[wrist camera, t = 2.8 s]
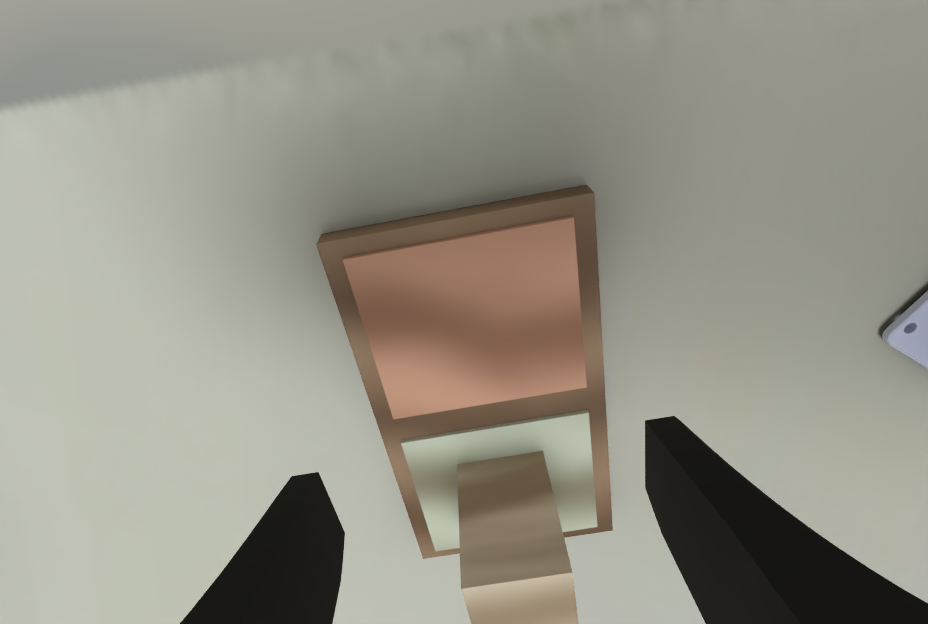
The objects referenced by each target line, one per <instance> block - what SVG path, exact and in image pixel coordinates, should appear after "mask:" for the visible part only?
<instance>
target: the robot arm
mask: <svg viewBox="0 0 928 624" xmlns="http://www.w3.org/2000/svg"><path fill="white" fill-rule="evenodd" d="M907 325H908V326H907ZM882 339H883V340H884V341H885V342H886V343H887V344H889V345H890V346H892V347H894V348H895V349H897V350H898V351H900V352H902V353H903V354H905V355H906V356H908V357H910V358H911V359H913V360H914V361H916V362H918V363H919V364H921V365H922V366H924V367H925V368H927V369H928V291H927V292H926V293H924V294H923V295H922V296H921V297H920V298H919V299H918V300H917V301H916V302H915V303H913V304H912V305H911V306H910V307H909V308H908V309H907V310H906V311H905V312H904V313H903V314H901V315H900V316H899V317H898V318H897V319H896V320H895V321H894V322H893V323H892V324H890V325H889V326H888V327H887V328H886V329H885V331H884V332H883V335H882ZM645 488H646V491H647V493H648V496H649V499H650V502H651V505H652V508H653V511H654V513H655V516H656V519H657V521H658V524H659V527H660V530H661V532H662V535H663V537H664V539H665V541H666V543H667V545H668V547H669V549H670V551H671V553H672V555H673V558H674V560H675V562H676V564H677V566H678V568H679V570H680V572H681V574H682V576H683V578H684V580H685V582H686V584H687V586H688V588H689V590H690V592H691V594H692V596H693V598H694V600H695V602H696V604H697V606H698V609H699V611H700V613H701V615H702V617H703V619H704V621H705V623H706V624H928V603H926V602H924V601H923V600H921V599H919V598H917V597H916V596H914V595H912V594H910V593H909V592H907V591H905V590H903V589H902V588H900V587H898V586H897V585H895V584H893V583H892V582H890V581H889V580H887V579H885V578H884V577H882V576H881V575H879V574H877V573H876V572H874V571H873V570H871V569H869V568H868V567H866V566H865V565H863V564H862V563H860V562H859V561H857V560H856V559H854V558H853V557H851V556H850V555H848V554H847V553H845V552H844V551H842V550H841V549H839V548H838V547H836V546H835V545H833V544H832V543H830V542H829V541H827V540H826V539H825V538H823V537H822V536H820V535H819V534H818V533H816V532H815V531H813V530H812V529H811V528H809V527H808V526H806V525H805V524H804V523H802V522H801V521H800V520H798V519H797V518H796V517H794V516H793V515H792V514H790V513H789V512H788V511H786V510H785V509H784V508H782V507H781V506H780V505H778V504H777V503H776V502H775V501H773V500H772V499H771V498H769V497H768V496H767V495H766V494H764V493H763V492H762V491H761V490H760V489H758V488H757V487H756V486H755V485H753V484H752V483H751V482H750V481H748V480H747V479H746V478H745V477H744V476H742V475H741V474H740V473H739V472H737V471H736V470H735V469H734V468H733V467H732V466H730V465H729V464H728V463H727V462H726V461H725V460H723V459H722V458H721V457H720V456H719V455H718V454H717V453H715V452H714V451H713V450H712V449H711V448H710V447H709V446H707V445H706V444H705V443H704V442H703V441H702V440H701V439H700V438H699V437H697V436H696V435H695V434H694V433H693V432H692V431H691V430H690V429H689V428H688V427H687V426H685V425H684V424H683V423H682V422H681V421H680V420H679V419H677V418H676V417H675V416H671V417H665V418H659V419H652V420H646V421H645ZM344 537H345V532H344V530H343V528H342V525H341V523H340V521H339V519H338V516H337V514H336V512H335V509H334V507H333V505H332V502H331V500H330V498H329V496H328V493H327V491H326V489H325V486H324V484H323V482H322V479H321V477H320V475H319V473H318V472H316V473H310V474H304V475H297V476H292V477H291V478H290V480H289V481H288V482H287V484H286V485H285V486H284V488H283V489H282V490H281V492H280V493H279V494H278V496H277V497H276V499H275V500H274V501H273V503H272V504H271V506H270V507H269V508H268V510H267V511H266V513H265V514H264V515H263V517H262V518H261V520H260V521H259V522H258V524H257V525H256V527H255V528H254V529H253V531H252V532H251V533H250V535H249V536H248V538H247V539H246V540H245V542H244V543H243V544H242V546H241V547H240V548H239V550H238V551H237V552H236V554H235V555H234V556H233V558H232V559H231V560H230V562H229V563H228V564H227V566H226V567H225V568H224V570H223V571H222V572H221V574H220V575H219V576H218V577H217V579H216V580H215V581H214V582H213V584H212V585H211V586H210V587H209V589H208V590H207V591H206V592H205V594H204V595H203V596H202V597H201V599H200V600H199V601H198V602H197V604H196V605H195V606H194V607H193V609H192V610H191V611H190V612H189V614H188V615H187V616H186V617H185V618H184V619H183V621H182V622H181V623H180V624H332V622H333V617H334V612H335V607H336V602H337V597H338V592H339V587H340V582H341V573H342V563H343V550H344Z"/></svg>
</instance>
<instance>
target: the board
mask: <svg viewBox="0 0 928 624" xmlns="http://www.w3.org/2000/svg"><path fill="white" fill-rule="evenodd" d="M316 245H317V248H318V251H319V254H320V257H321V260H322V262H323V265H324V268H325V271H326V274H327V277H328V280H329V283H330V286H331V289H332V292H333V295H334V298H335V301H336V304H337V307H338V309H339V312H340V315H341V318H342V321H343V324H344V327H345V330H346V333H347V336H348V339H349V342H350V345H351V348H352V351H353V354H354V356H355V359H356V362H357V365H358V368H359V371H360V374H361V377H362V380H363V383H364V386H365V389H366V392H367V395H368V398H369V401H370V403H371V406H372V409H373V412H374V415H375V418H376V421H377V424H378V427H379V430H380V433H381V436H382V439H383V442H384V445H385V448H386V451H387V453H388V456H389V459H390V462H391V465H392V468H393V471H394V474H395V477H396V480H397V483H398V486H399V489H400V492H401V495H402V498H403V500H404V503H405V506H406V509H407V512H408V515H409V518H410V521H411V524H412V527H413V530H414V533H415V536H416V539H417V542H418V545H419V547H420V550H421V553H422V556H423V559H425V558H431V557H438V556H445V555H451V554H458V553H460V540H459V512H458V484H457V464H463V463H469V462H475V461H482V460H488V459H494V458H500V457H507V456H513V455H519V454H525V453H532V452H538V451H543V453H544V457H545V461H546V465H547V469H548V474H549V478H550V482H551V486H552V490H553V494H554V498H555V503H556V507H557V511H558V515H559V519H560V523H561V528H562V532H563V536H564V537H571V536H578V535H584V534H591V533H598V532H604V531H611V530H613V529H612V511H611V492H610V474H609V456H608V438H607V420H606V402H605V384H604V366H603V348H602V329H601V311H600V293H599V275H598V257H597V239H596V221H595V203H594V192H593V191H592V190H591V189H590V188H589V187H588V186H587V185H585V186H579V187H574V188H569V189H563V190H558V191H552V192H547V193H542V194H536V195H531V196H525V197H520V198H515V199H509V200H504V201H498V202H493V203H488V204H482V205H477V206H471V207H466V208H461V209H455V210H450V211H445V212H439V213H434V214H428V215H423V216H418V217H412V218H407V219H401V220H396V221H391V222H385V223H380V224H374V225H369V226H364V227H358V228H353V229H348V230H342V231H337V232H331V233H326V234H322V235H321V237H320V238H319V240H318V242H317V244H316Z"/></svg>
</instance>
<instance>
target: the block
mask: <svg viewBox="0 0 928 624" xmlns="http://www.w3.org/2000/svg"><path fill="white" fill-rule="evenodd" d="M457 484H458V512H459V540H460V568H461V590H462V593H463V596H464V600H465V603H466V607H467V610H468V613H469V617H470V620H471V623H472V624H578V615H577V607H576V599H575V591H574V582H573V574H572V569H571V565H570V561H569V557H568V552H567V548H566V544H565V540H564V536H563V532H562V528H561V523H560V519H559V515H558V511H557V507H556V503H555V498H554V494H553V490H552V486H551V482H550V478H549V474H548V469H547V465H546V461H545V457H544V453H543V451H538V452H532V453H525V454H519V455H513V456H507V457H500V458H494V459H488V460H482V461H475V462H469V463H463V464H457Z"/></svg>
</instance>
